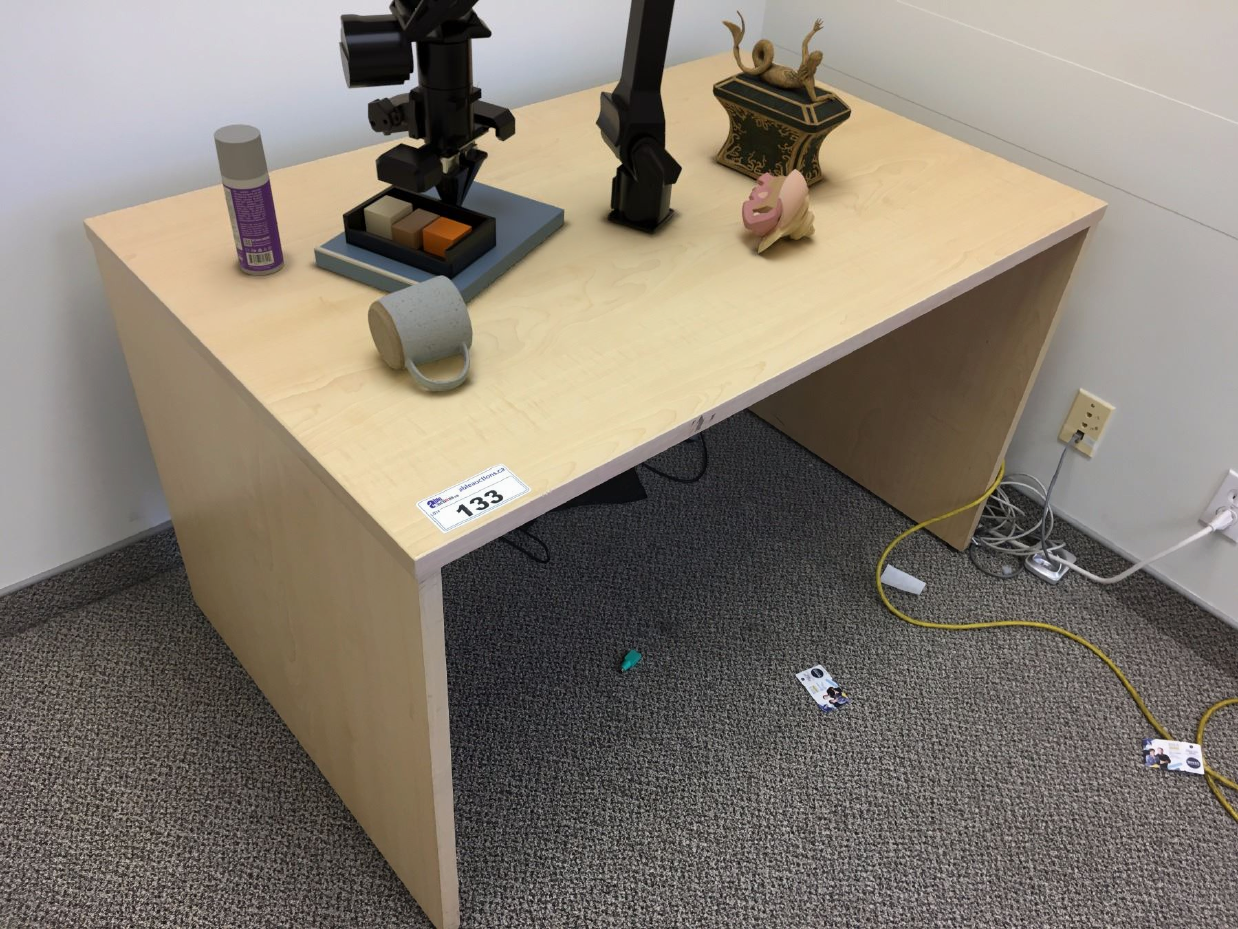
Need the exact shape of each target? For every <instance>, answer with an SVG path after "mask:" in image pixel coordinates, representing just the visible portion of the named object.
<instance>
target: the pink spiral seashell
mask: <svg viewBox="0 0 1238 929" xmlns="http://www.w3.org/2000/svg"><path fill="white" fill-rule="evenodd" d="M755 182H756V183H757V184H759V186H756V187H754V188H752V189H751V192H750V194H749V196H748V200H744V201H743V202H742V206H741V219H742V223H743V226H744V228H745V229H746V230H748V231H752V232H753V233H754V234H755V235H756V236H757V237H763V238H762V240H761V241H760V243H759V245H758V250H757V254H760V253H762V252H763V251H764V250H766V249H767V248H769V247H770V246H772V245H773V244H774V243H775V242H777V240H778V239H780V238H783V237H787V236H789V238H790V239H791V240H795V241H798V240H800V239H801V238H802V237H805V238H810V237H811V236H813V235H814V234H815V232H816V228H815V227H814V222H815V220H816V216H815V215H814V212H813V211H812V210H809V209H810V208H809V207H810V206H809V205H810V195H808V194H809V191H810V190H809V186H807V184H806V181H805V179H804V177H803V175H802V174H801V173H800V172H799V171H797V170H796V169H794V170H793V171H792V172H791V173H790V174H789V175H788V177H787V176H778V177H774V176H771V175H770V174H769V173H768V172H767V173H765V174H763V175H762V176H761V177H759V178H758V179H756V181H755ZM756 213H757V214H756ZM754 214H756V215H754Z"/></svg>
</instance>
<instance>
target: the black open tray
mask: <svg viewBox="0 0 1238 929" xmlns="http://www.w3.org/2000/svg"><path fill="white" fill-rule="evenodd" d="M342 222H343V228H344V229H343V230H344V231H345V238H346V243H347V244H350V245H353V246H356V247H359V248H361V249H364V250H367V251H370V252H373V253H375V254H378V255H381V256H384V257H386V258H389V259H392V260H395V261H398V262H400V263H403V264H406V265H409V266H411V267H414V268H417V269H420V270H423V271H425V272H428V273H431V274H434V275H436V276H445V277H447V278H448V279H450V280H452V279H453V278H454V277H456V276H457V275H458V274H460V273H461V272H462V271H464V270H465V269H466V268H468V267H469V266H470V265H472V264H473V263H474V262H476V261H477V260H478V259H479V258H481V257H482V256H483V255H485V254H486V253H487V252H489V251H490V250H491V249H493V248H494V247H495V246H496V218H494V217H491V216H488V215H485V214H482V213H479V212H476V211H473V210H470V209H467V208H464V207H461V206H458V205H455V204H452V203H449V202H446V201H443V200H440V199H437V198H434V197H431V196H428V195H425V194H422V193H416V192H413V191H410V190H407V189H404V188H401V187H398V186H395V185H392V184H390V185H389V186H387V187H386V188H384V189H383V190H381V191H379V192H378V193H376V194H374V195H372V196H371V197H369V198H367V199H366V200H364V201H362V202H361V203H359V204H358V205H356V206H354V207H353V208H351V209H350V210H348V211H346V212H344V213H343V214H342Z"/></svg>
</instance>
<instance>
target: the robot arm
mask: <svg viewBox="0 0 1238 929" xmlns="http://www.w3.org/2000/svg"><path fill="white" fill-rule="evenodd" d="M479 1H480V0H391V2H390V4H389V6H388V9H389V11H390V13H389V14H387V13H386V14H369V15H360V14H355V13H345V14H341V15H340V16H339V19H340V26H341V27H340V41H339V42H338V45H339V51H340V52H339V53H340V60H341V66H342V72H343V76H344V80H345V84H346V87H347V88H348V89H349V90H350V89H362V88H363V89H364V88H376V87H378V88H379V87H387V86H388V87H389V86H390V87H391V86H402V85H403V86H404V85H405V83H406V81H410V80H411V74H414V70H415V61H414V60H415V59H414V51H413V43H415V55H416V71H417V83H418V84H417V86H415V87H413V88H411V89H409V92H404V93H400V94H396V95H393V96H391V97H383V98H381V99H380V98H376V99H374V100H372V101H370V102H368V103H367V119H368V122H369V125H370V127H371V130H372V131H374V132H375V133H382V134H383V136H385V137H387V136H391V135H392V134H397V133H404V132H408V138H410V139H412V140H416V141H419V140H423V143H424V144H423V145H421V146H419V147H416V146H412V145H408V144H405V143H402V142H400V143H399V144H397V145H395V146H394V147H392V148H390V149H388V150H387V151H385V152H383V153H382V154H380V155H379V156H378V157H377V158H376V159H375V172H376V178H377V181H379V182H383V183H386V184H389V185H395V186H398V187H401V188H404V189H407V190H410V191H413V192H416V193H425V192H427V191H428V190H430V189H431V188H433V187H434V186H435V188H436V190H437V192H438V194H439V197H440V199H441V200H443V201H446V202H449V203H452V204H455V205H458V206H462V204H463V202H464V200H465V198H466V195H467V193H468V191H469V189H470V187H471V185H472V183H473V181H475V179H476V177H477V175H478V174H479V171H480V169H481V168H482V166H483V163H484V162H485V160H487V159H488V157H489V156H488V155H489V153H488V152H487V151H484V150H481V149H478V143H476V140H478V139H479V138H481V137H483V136H484V135H487V133H489V132H490V129H494V134H495V135H494V136H495V137H496V139H497V140H498V141H500V142H505V141H506V140H509V138H512V137H513V136H514V135H516V118H515V116H514V114H513V113H512V112H511V110H510V109H509V108H507V107H504V106H500V105H498V104H493V103H490V102H487V101H483V100H481V99H482V97H483V96H482V88H480V87H479V86H478V87H477V86H474V71H473V70H474V68H473V41H472V40H476V39H477V40H479V39H489V38H491V37H492V35H493V33H492V30H491V29H490V28H489V27H488V25H487V23H485V21H484V19H482V18H480V17H479V16H478V13H477V12H476V11H475V10H474V7H475V6H476V4H478V2H479ZM675 3H676V0H631V2H630V7H629V8H630V9H629V15H628V16H629V17H628V21H627V22H628V23H627V30H626V38H625V44H624V51H623V52H624V53H623V58H622V66H621V75H620V78H619V81H618V82H617V84H616V86H615V88H614V89H613V90H612V92H608V91H601V92H600V95H599V102H600V103H599V106H600V108H599V109H600V110H599V114H598V116H597V119H596V121H595V125H596V126H597V128H599V130H600V136H601V139H602V140H603V142H604V143H605V144H606V146H607V147H608V148H609V149H610V150H611V152H612V153H613V154H614V156H615V158H616V159H617V160H618V161H619V162H620V163H621V164H619V165H618V166H617V167H616V172H615V176H614V177H612V179H611V192H610V209H611V211H610V212H609V213H608V214H607V215H606V219H607V220H608V221H611V222H614V223H617V224H621V225H623V226H627V227H630V228H633V229H637V230H639V231H643V232H646V233H649V234H654V233H656V232H657V231H658V230H659V229H660V228H661V227H662V226H663V225H664V224H665V223H666V222H668V220H670V219H671V217H673V216H674V215H675V209H674V208H671V198H672V192H673V191H672V189H673V185H676V184H677V182H678V180H679V177H680V175H681V173H682V171H683V167H682V166H681V165H680V163H679V162H678V161H677V160H676V159H675V158H674V157H673V156H672V154H671V153H670V152H669V151H668V150H667V149H666V135H667V134H666V130H667V129H666V128H667V127H666V126H667V122H666V115H665V109H664V104H663V97H662V83H663V76H664V70H665V64H666V58H667V52H668V46H669V39H670V33H671V27H672V21H673V15H674V9H675Z"/></svg>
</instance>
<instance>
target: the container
mask: <svg viewBox="0 0 1238 929" xmlns="http://www.w3.org/2000/svg"><path fill="white" fill-rule="evenodd" d="M213 139H214V144H215V150H216V155H217V161H218V166H219V172H220V178H221V183H222V188H223V192H224V197H225V203H226V207H227V212H228V216H229V221H230V225H231V232H232V236H233V239H234V244H235V245H234V246H235V249H236V254H237V258H238V263H239V264H238V265H239V268H240V270H241V271H242V272H244V273H245V274H248V275H253V276H266V275H272V274H273V273H276V272H279V271H281V269H282V268H283V267H284V265H285V260H284V254H283V253H284V252H283V248H282V242H281V237H280V230H279V225H278V219H277V214H276V207H275V202H274V196H273V191H272V184H271V179H270V174H269V168H268V165H267V159H266V154H265V150H264V145H263V140H262V139H263V138H262V136H261V131H260V129H259V128H257V127H256V126H253V125H250V124H239V123H238V124H229V125H225V126H222V127H219V128H218V129H216V130H215V131H214V133H213Z"/></svg>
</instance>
